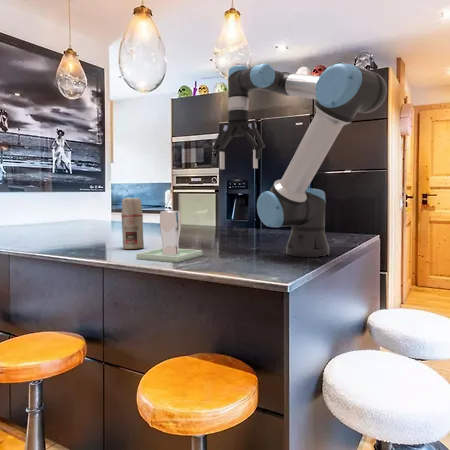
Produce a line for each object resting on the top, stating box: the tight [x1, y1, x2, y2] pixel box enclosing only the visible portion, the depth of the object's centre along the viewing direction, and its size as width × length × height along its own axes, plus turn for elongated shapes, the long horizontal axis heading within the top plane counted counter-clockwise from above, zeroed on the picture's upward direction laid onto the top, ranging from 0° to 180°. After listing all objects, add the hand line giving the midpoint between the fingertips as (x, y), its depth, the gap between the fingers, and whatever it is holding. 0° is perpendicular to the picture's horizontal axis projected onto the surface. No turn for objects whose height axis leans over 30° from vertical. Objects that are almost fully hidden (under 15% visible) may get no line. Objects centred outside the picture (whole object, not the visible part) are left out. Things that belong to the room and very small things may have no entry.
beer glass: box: [159, 210, 182, 256], centre depth 138 cm, size 7×7×15 cm
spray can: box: [121, 197, 145, 250], centre depth 159 cm, size 8×8×20 cm
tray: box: [136, 247, 204, 264], centre depth 139 cm, size 16×16×2 cm
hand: (238, 168), depth 152 cm, fingers open, 13 cm apart
